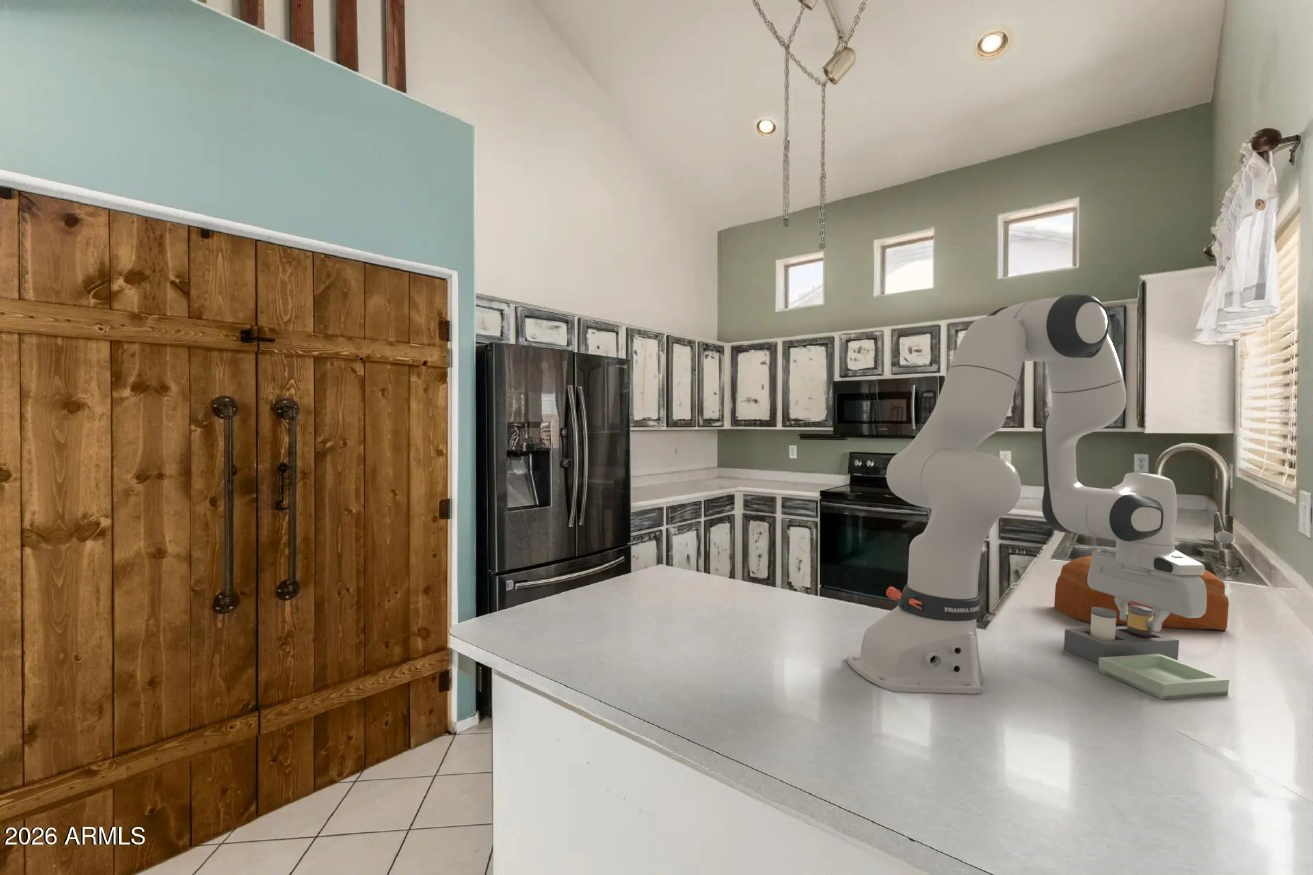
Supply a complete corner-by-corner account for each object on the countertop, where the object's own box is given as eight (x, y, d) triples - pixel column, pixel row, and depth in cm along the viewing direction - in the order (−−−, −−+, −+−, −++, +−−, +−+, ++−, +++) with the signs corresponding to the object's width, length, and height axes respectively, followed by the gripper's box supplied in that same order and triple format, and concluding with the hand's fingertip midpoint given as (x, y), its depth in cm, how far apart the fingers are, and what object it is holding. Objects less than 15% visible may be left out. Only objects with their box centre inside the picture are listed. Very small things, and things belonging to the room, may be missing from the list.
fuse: (1103, 660, 111) (1105, 613, 111) (1084, 652, 115) (1086, 607, 114) (1118, 659, 112) (1121, 612, 112) (1099, 651, 115) (1102, 606, 115)
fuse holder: (1102, 665, 108) (1104, 644, 108) (1063, 648, 116) (1064, 628, 116) (1177, 660, 112) (1179, 639, 112) (1135, 644, 120) (1136, 625, 120)
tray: (1163, 699, 95) (1164, 684, 95) (1098, 671, 106) (1098, 657, 105) (1228, 694, 98) (1229, 679, 98) (1158, 666, 109) (1159, 653, 109)
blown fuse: (1140, 657, 113) (1143, 611, 113) (1120, 650, 117) (1123, 605, 116) (1155, 656, 114) (1158, 611, 114) (1135, 649, 118) (1138, 604, 117)
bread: (1046, 606, 146) (1050, 544, 146) (1183, 613, 144) (1187, 551, 144) (1084, 625, 132) (1088, 556, 132) (1236, 633, 131) (1240, 564, 130)
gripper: (1081, 544, 124) (1077, 608, 124) (1188, 568, 104) (1183, 645, 105) (1105, 544, 126) (1101, 608, 126) (1215, 568, 106) (1210, 643, 106)
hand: (1139, 625), depth 115 cm, fingers closed on blown fuse, 4 cm apart
